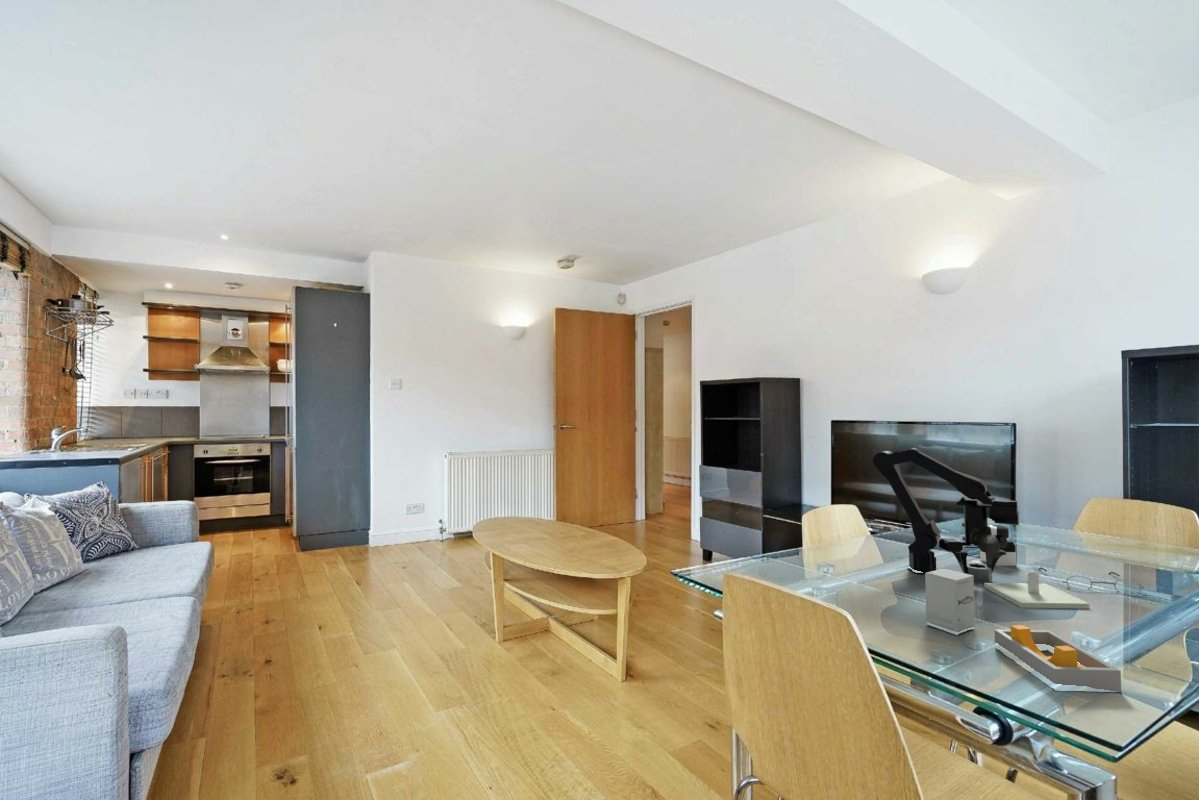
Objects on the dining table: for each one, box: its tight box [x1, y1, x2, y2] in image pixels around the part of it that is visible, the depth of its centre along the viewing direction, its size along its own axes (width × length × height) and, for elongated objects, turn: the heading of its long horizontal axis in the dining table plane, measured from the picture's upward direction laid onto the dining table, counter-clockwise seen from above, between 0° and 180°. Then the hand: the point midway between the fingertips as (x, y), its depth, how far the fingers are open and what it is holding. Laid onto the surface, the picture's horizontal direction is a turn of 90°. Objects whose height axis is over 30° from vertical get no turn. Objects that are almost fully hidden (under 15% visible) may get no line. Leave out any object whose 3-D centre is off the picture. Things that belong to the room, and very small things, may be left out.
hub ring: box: [967, 562, 993, 584], centre depth 164 cm, size 6×6×4 cm
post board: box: [983, 570, 1090, 609], centre depth 148 cm, size 16×16×7 cm
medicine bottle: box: [979, 524, 1017, 567], centre depth 180 cm, size 7×7×12 cm
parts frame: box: [994, 628, 1122, 693], centre depth 109 cm, size 11×18×4 cm, turn 174°
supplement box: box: [924, 568, 976, 632], centre depth 130 cm, size 7×7×13 cm
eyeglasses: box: [1038, 567, 1146, 592], centre depth 161 cm, size 18×19×4 cm
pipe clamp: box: [1010, 624, 1085, 667], centre depth 109 cm, size 12×4×6 cm, turn 5°
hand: (977, 574), depth 164 cm, fingers closed on hub ring, 6 cm apart
